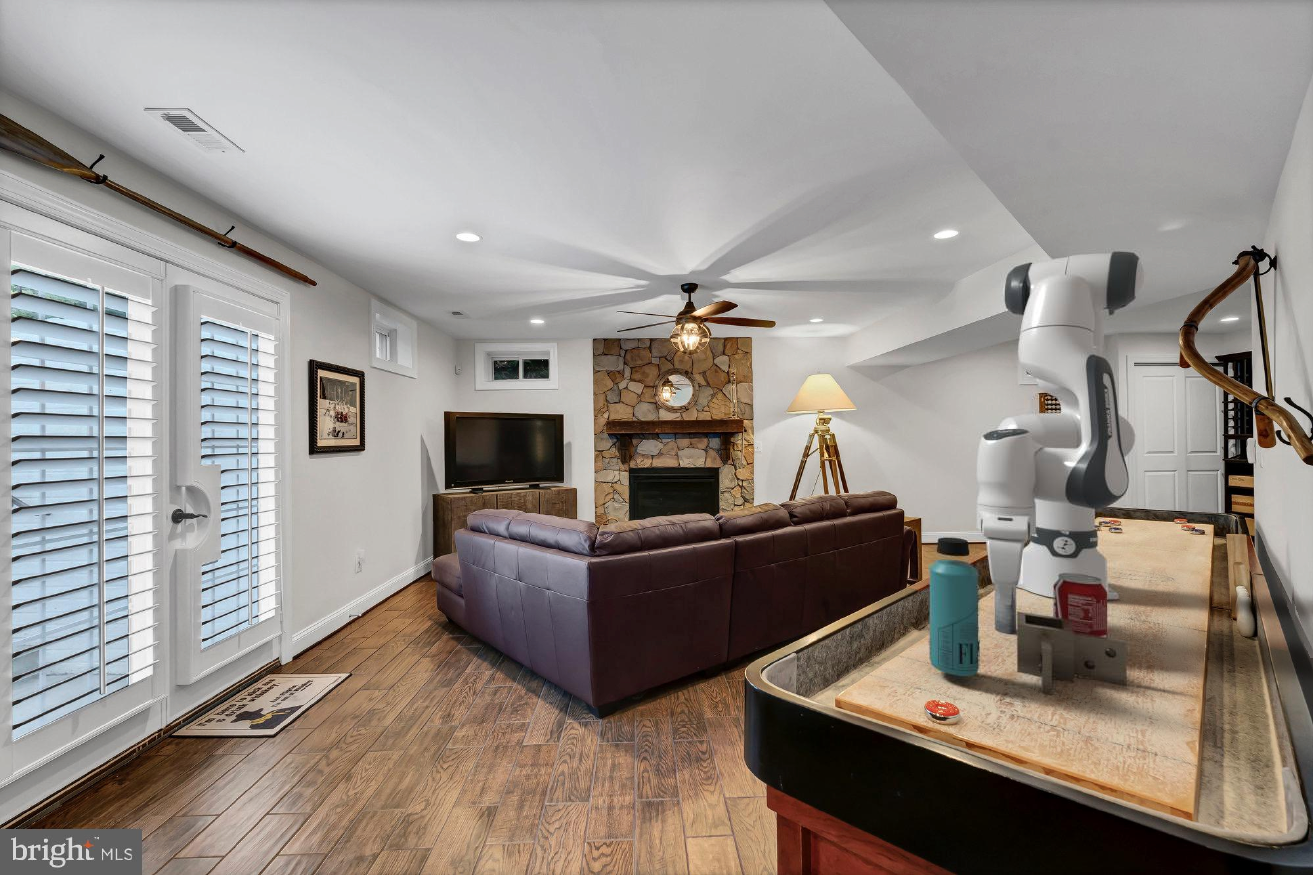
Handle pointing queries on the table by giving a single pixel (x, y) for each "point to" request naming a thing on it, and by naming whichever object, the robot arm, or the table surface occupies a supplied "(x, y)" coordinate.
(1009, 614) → the pin
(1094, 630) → the soda can
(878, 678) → the table surface
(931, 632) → the beverage bottle
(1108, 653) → the grey metal bracket
